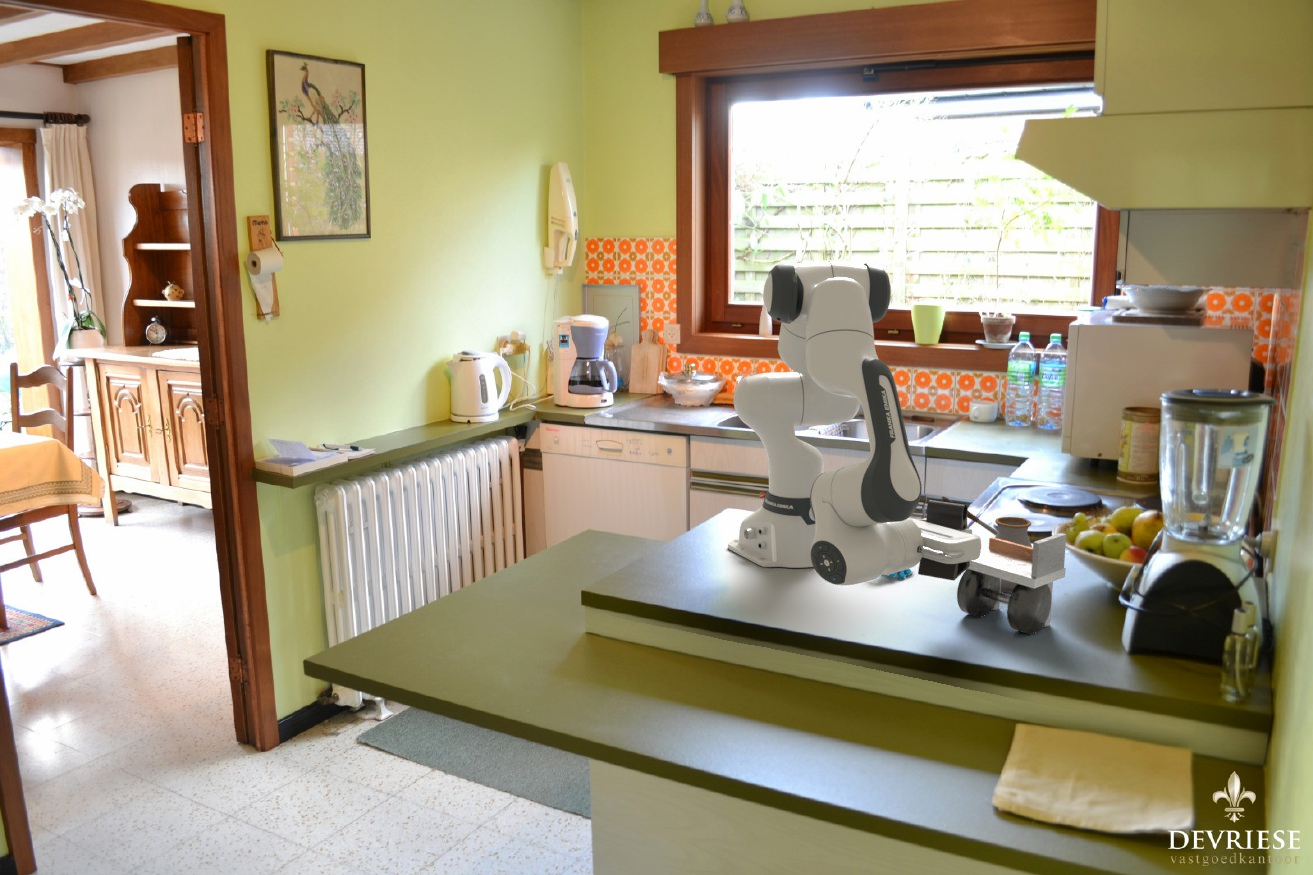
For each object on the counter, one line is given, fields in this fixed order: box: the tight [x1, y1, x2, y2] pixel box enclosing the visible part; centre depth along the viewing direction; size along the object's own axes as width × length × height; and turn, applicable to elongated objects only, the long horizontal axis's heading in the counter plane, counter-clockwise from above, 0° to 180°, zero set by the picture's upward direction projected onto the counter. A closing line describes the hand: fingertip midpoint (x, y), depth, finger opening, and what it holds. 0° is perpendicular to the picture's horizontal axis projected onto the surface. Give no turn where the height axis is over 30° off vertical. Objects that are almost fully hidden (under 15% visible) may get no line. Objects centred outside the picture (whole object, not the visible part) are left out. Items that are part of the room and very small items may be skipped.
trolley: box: [956, 532, 1067, 635], centre depth 175 cm, size 15×10×17 cm
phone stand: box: [917, 498, 970, 581], centre depth 171 cm, size 9×6×12 cm, turn 146°
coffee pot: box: [939, 496, 1033, 594], centre depth 196 cm, size 21×12×15 cm, turn 44°
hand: (949, 528), depth 171 cm, fingers closed on phone stand, 6 cm apart
